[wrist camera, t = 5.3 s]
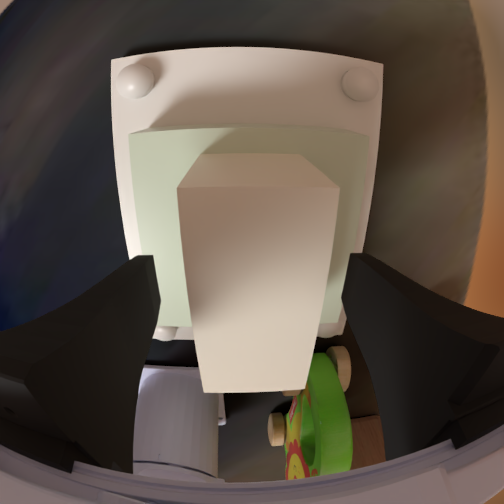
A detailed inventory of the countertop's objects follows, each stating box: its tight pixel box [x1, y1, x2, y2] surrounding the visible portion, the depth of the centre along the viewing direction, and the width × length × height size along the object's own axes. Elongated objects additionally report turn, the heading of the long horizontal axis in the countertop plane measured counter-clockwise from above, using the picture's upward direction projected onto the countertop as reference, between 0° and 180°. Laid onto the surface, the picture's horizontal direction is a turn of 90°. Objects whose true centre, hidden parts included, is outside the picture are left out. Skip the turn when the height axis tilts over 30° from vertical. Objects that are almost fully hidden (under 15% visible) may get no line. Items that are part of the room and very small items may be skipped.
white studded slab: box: [111, 47, 383, 341], centre depth 15 cm, size 18×14×4 cm
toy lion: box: [268, 346, 353, 480], centre depth 19 cm, size 16×5×15 cm, turn 178°
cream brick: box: [177, 153, 340, 393], centre depth 11 cm, size 8×4×5 cm, turn 179°
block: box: [350, 415, 386, 470], centre depth 22 cm, size 10×10×20 cm
